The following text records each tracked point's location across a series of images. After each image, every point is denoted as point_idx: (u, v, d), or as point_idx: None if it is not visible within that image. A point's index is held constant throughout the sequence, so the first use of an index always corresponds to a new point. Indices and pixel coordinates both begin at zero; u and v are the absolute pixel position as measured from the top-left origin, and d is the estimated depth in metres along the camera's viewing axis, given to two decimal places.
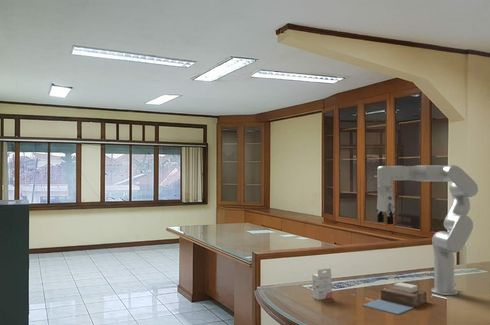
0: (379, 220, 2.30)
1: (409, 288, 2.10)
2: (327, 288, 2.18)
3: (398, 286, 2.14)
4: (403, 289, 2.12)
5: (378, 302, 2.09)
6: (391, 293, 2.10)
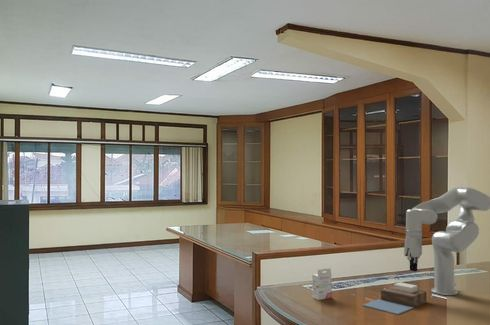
0: None
1: (409, 288, 2.10)
2: (327, 288, 2.18)
3: (398, 286, 2.14)
4: (403, 289, 2.12)
5: (378, 302, 2.09)
6: (391, 293, 2.10)
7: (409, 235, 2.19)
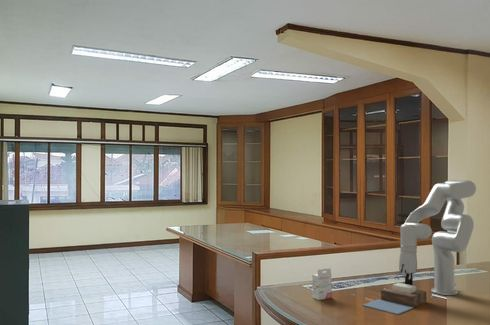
0: None
1: (408, 288, 2.09)
2: (327, 288, 2.18)
3: (397, 286, 2.13)
4: (402, 289, 2.11)
5: (378, 302, 2.09)
6: (391, 293, 2.10)
7: (404, 251, 2.15)
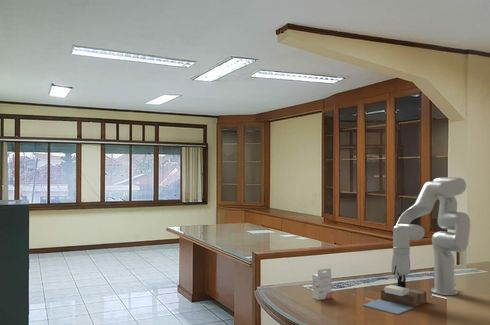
0: None
1: (400, 291, 2.04)
2: (327, 288, 2.18)
3: (389, 289, 2.09)
4: (394, 292, 2.07)
5: (378, 302, 2.09)
6: None
7: (396, 252, 2.11)
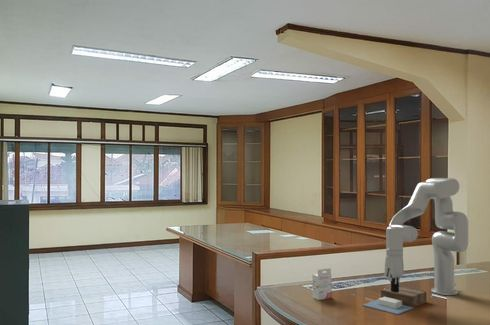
0: None
1: None
2: (327, 288, 2.18)
3: None
4: None
5: None
6: (391, 293, 2.10)
7: (389, 254, 2.06)
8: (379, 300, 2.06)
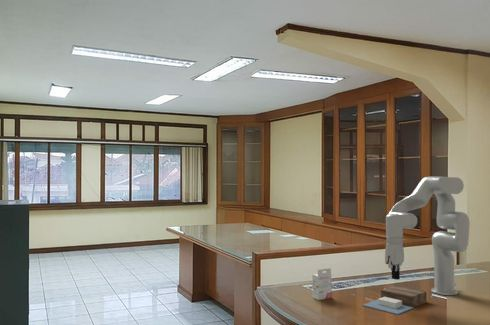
0: None
1: None
2: (327, 288, 2.18)
3: None
4: None
5: None
6: (391, 293, 2.10)
7: (389, 242, 2.06)
8: (379, 300, 2.06)
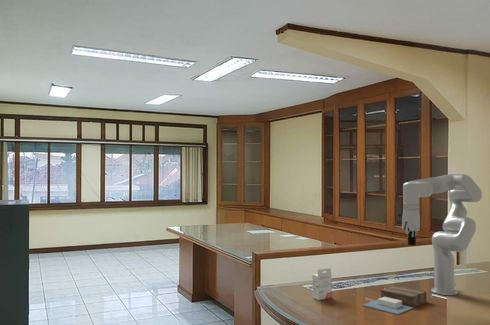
0: None
1: None
2: (327, 288, 2.18)
3: None
4: None
5: None
6: (391, 293, 2.10)
7: (407, 208, 2.14)
8: (379, 300, 2.06)
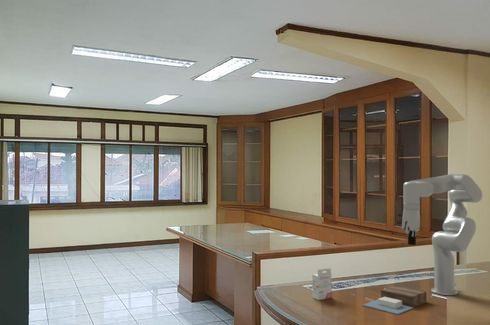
0: None
1: None
2: (327, 288, 2.18)
3: None
4: None
5: None
6: (391, 293, 2.10)
7: (407, 208, 2.14)
8: (379, 300, 2.06)
